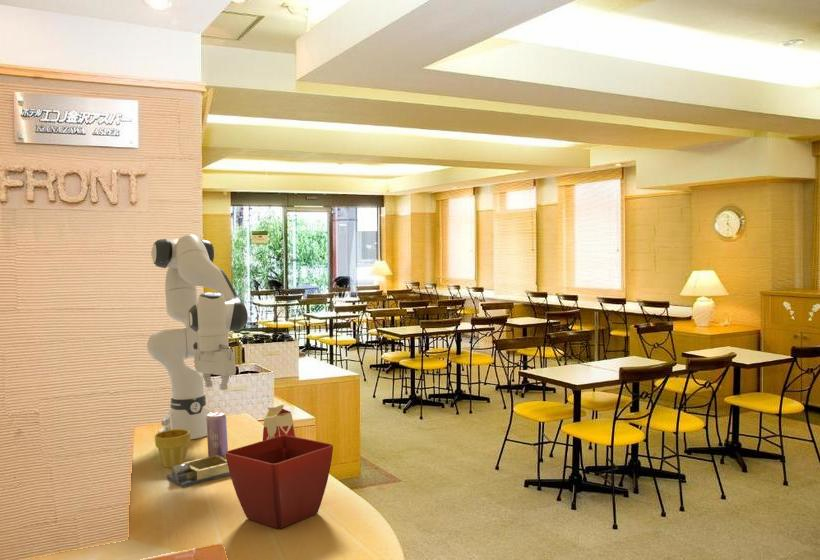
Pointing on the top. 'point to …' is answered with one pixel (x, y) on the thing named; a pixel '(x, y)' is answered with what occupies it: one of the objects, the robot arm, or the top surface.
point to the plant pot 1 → (172, 446)
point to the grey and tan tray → (199, 470)
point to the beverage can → (216, 434)
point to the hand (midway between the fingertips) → (216, 388)
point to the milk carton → (278, 423)
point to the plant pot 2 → (280, 478)
